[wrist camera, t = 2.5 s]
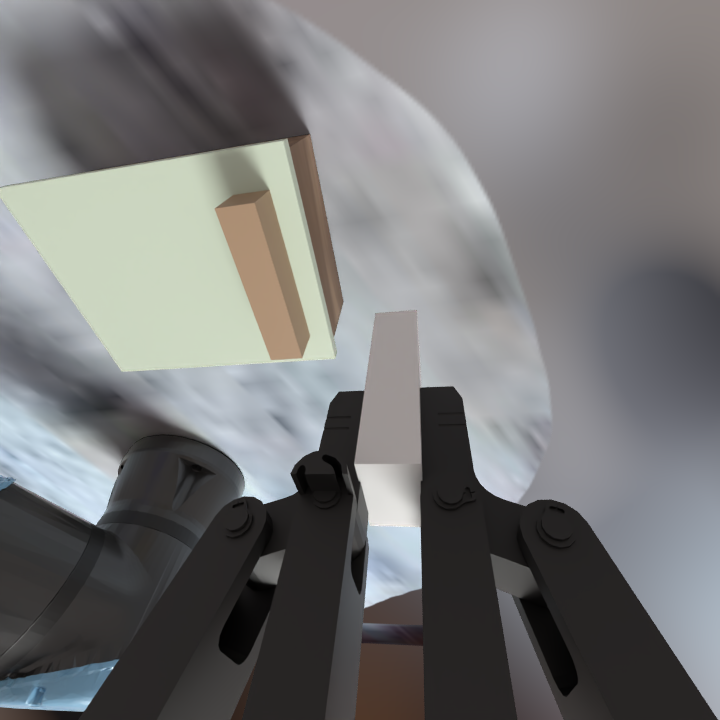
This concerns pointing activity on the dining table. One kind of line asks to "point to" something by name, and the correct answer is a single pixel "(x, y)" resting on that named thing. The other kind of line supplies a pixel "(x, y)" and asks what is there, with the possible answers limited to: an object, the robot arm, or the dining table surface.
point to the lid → (185, 257)
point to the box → (314, 222)
